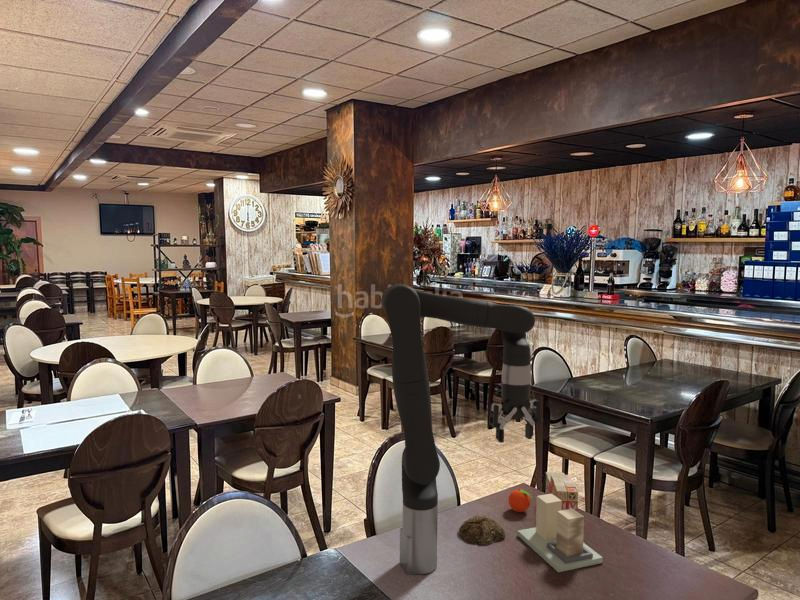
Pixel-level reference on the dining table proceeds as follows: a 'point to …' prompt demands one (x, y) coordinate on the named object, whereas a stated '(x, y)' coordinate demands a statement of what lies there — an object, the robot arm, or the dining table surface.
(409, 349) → the robot arm
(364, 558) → the dining table surface
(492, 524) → the bread roll
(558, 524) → the maple pillar
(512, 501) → the clementine
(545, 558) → the baseplate
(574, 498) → the stack of blocks
